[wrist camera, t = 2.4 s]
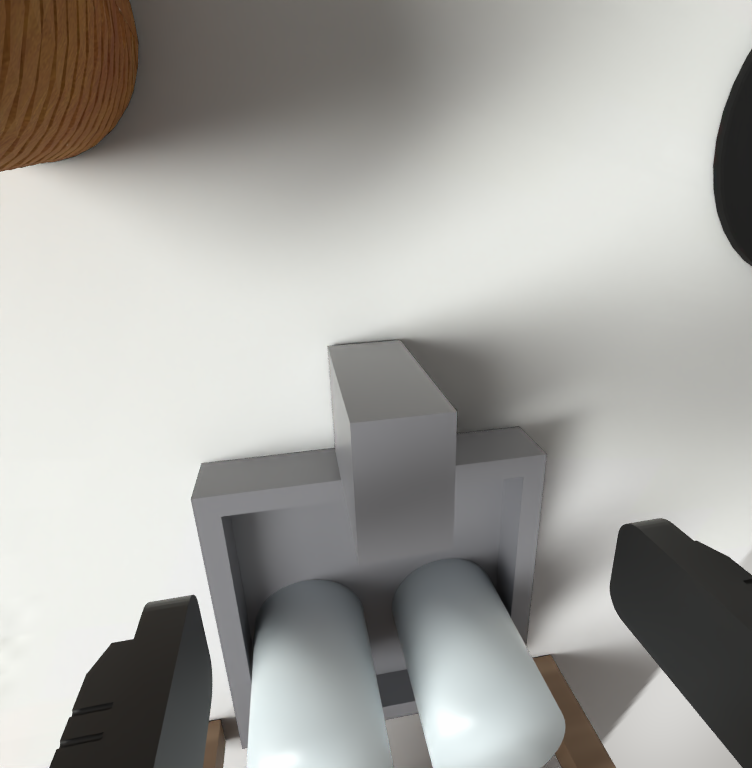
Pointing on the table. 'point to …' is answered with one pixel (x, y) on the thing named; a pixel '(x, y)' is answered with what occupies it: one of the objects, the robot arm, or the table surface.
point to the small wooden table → (576, 753)
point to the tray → (381, 581)
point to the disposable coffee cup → (62, 76)
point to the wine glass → (736, 164)
